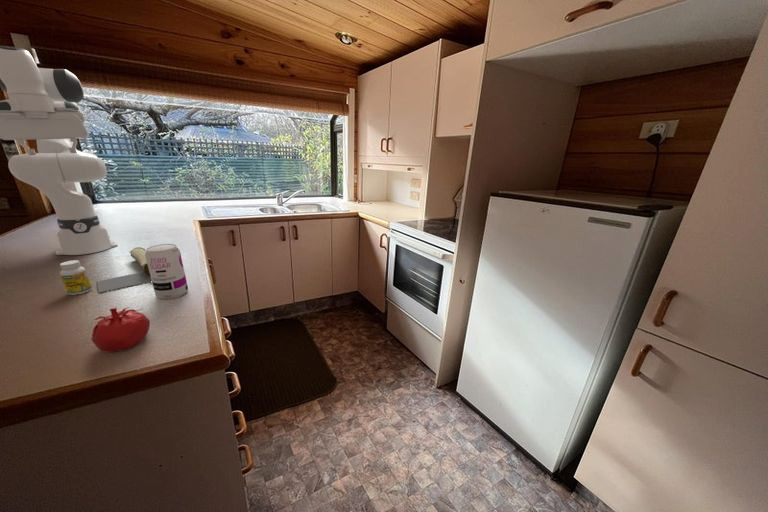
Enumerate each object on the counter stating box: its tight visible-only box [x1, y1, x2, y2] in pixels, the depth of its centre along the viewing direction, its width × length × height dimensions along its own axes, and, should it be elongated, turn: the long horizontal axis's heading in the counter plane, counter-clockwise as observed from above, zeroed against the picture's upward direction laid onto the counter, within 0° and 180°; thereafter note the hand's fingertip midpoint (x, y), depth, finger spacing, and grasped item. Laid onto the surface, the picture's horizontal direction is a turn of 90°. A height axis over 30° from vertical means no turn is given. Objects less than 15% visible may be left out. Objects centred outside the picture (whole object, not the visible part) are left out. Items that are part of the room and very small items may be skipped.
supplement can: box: [145, 243, 189, 300], centre depth 87 cm, size 8×8×15 cm
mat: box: [96, 271, 152, 294], centre depth 98 cm, size 11×18×1 cm, turn 135°
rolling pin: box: [128, 247, 150, 276], centre depth 107 cm, size 32×6×5 cm, turn 47°
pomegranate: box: [91, 307, 151, 353], centre depth 66 cm, size 10×10×9 cm
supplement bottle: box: [59, 259, 93, 296], centre depth 88 cm, size 5×5×10 cm
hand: (54, 154), depth 96 cm, fingers open, 8 cm apart
